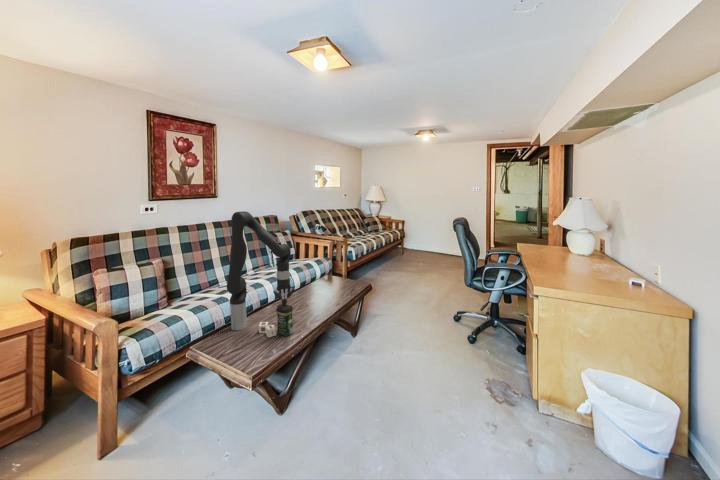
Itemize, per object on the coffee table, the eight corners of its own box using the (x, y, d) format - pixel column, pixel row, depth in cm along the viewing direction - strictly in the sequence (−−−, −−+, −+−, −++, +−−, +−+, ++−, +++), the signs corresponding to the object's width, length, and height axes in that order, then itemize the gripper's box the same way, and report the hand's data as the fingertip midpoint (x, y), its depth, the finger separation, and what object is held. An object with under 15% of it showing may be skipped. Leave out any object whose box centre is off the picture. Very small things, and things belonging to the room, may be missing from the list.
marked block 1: (259, 333, 180) (258, 325, 179) (260, 329, 185) (260, 321, 184) (267, 332, 181) (266, 325, 180) (268, 329, 186) (268, 321, 185)
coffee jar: (275, 334, 180) (273, 305, 176) (283, 328, 186) (282, 301, 183) (287, 337, 175) (285, 308, 172) (295, 332, 182) (294, 304, 179)
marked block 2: (268, 338, 174) (268, 330, 173) (265, 334, 179) (265, 326, 179) (277, 336, 177) (276, 328, 176) (273, 332, 182) (273, 324, 181)
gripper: (272, 280, 168) (274, 308, 171) (295, 277, 174) (296, 305, 177) (271, 276, 175) (272, 303, 178) (293, 274, 181) (294, 300, 184)
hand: (284, 304), depth 177 cm, fingers closed
